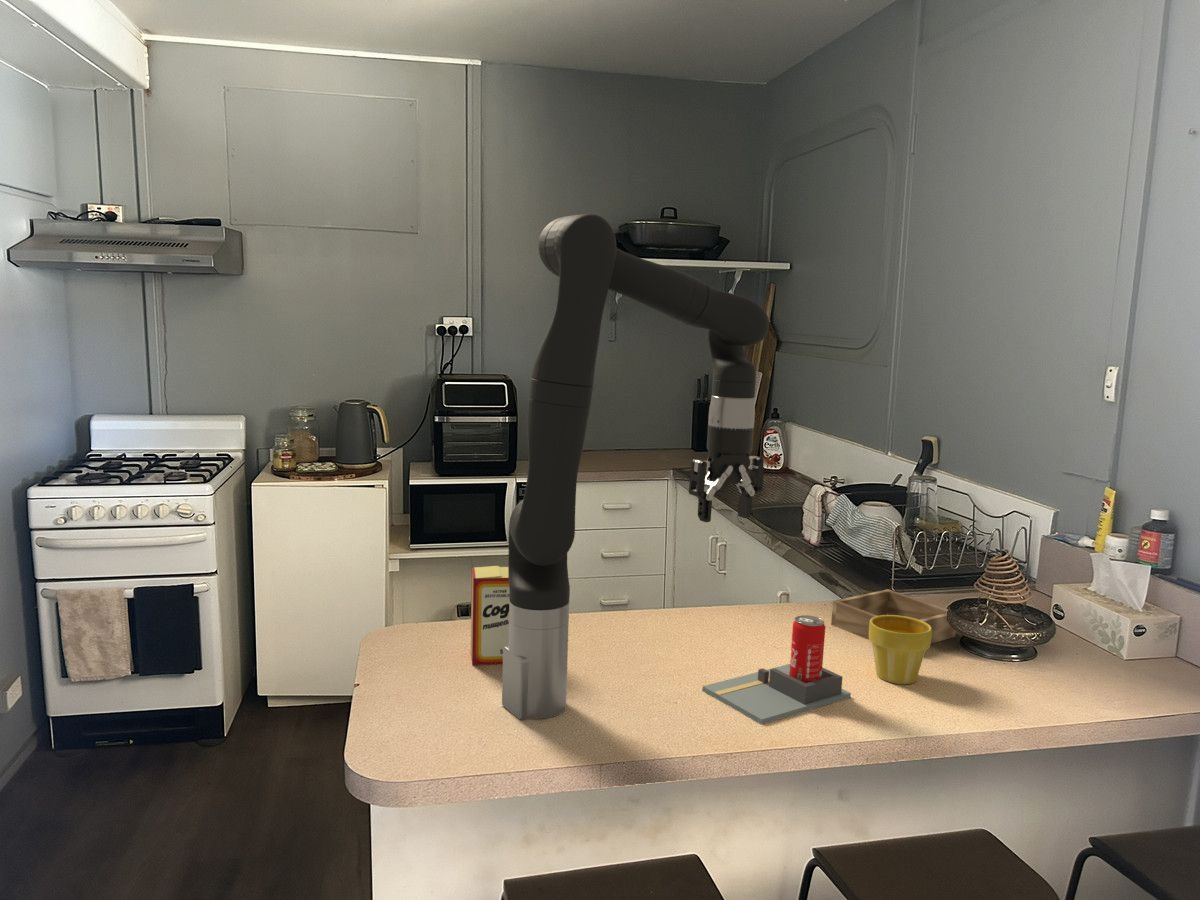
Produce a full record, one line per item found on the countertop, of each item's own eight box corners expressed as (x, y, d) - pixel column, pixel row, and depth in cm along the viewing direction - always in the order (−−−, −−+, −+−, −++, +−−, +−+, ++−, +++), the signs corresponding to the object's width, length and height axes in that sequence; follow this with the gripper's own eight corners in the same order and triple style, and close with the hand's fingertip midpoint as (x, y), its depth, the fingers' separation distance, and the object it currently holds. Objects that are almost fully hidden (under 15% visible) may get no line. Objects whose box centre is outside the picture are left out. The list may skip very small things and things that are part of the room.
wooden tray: (899, 652, 170) (901, 626, 169) (831, 624, 184) (832, 600, 183) (955, 636, 179) (957, 612, 178) (885, 611, 193) (887, 589, 192)
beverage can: (812, 699, 145) (818, 627, 143) (783, 690, 148) (788, 620, 146) (825, 689, 149) (830, 619, 147) (796, 680, 152) (801, 612, 151)
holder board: (761, 724, 138) (762, 700, 137) (702, 690, 149) (703, 668, 148) (850, 697, 149) (852, 675, 148) (789, 668, 160) (790, 647, 159)
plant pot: (873, 661, 165) (878, 609, 163) (932, 674, 160) (937, 621, 158) (858, 679, 156) (862, 625, 155) (920, 694, 151) (925, 638, 149)
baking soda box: (522, 649, 164) (525, 564, 162) (526, 663, 158) (528, 575, 156) (470, 651, 163) (471, 565, 160) (472, 665, 156) (473, 576, 154)
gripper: (712, 428, 142) (706, 528, 144) (778, 425, 150) (771, 520, 152) (683, 422, 148) (677, 518, 150) (747, 419, 156) (741, 511, 158)
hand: (724, 519), depth 151 cm, fingers open, 8 cm apart
